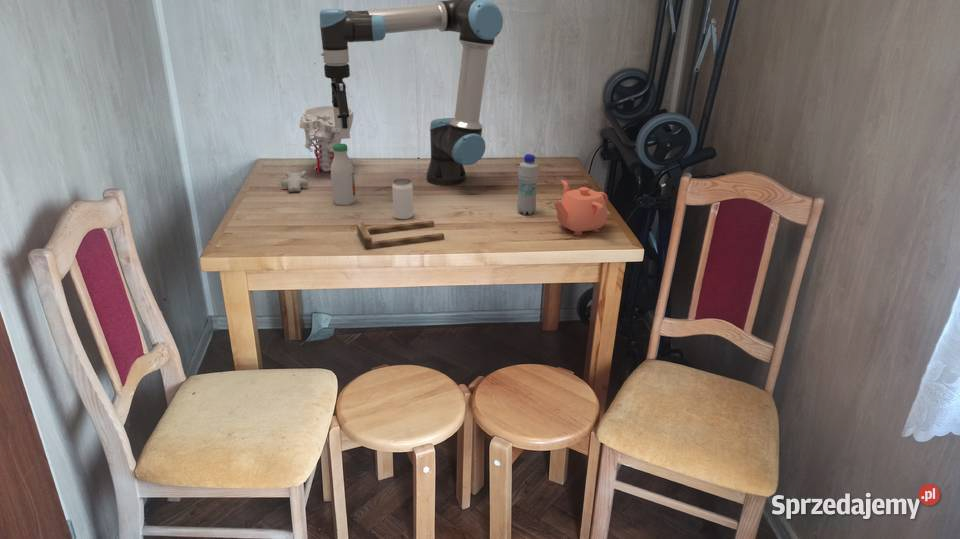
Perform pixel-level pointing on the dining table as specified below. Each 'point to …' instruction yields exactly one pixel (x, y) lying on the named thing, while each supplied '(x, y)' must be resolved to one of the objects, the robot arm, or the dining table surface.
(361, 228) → the guide
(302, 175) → the grey lumpy figure
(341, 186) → the milk bottle
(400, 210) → the can
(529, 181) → the bottle
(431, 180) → the robot arm
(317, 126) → the skull
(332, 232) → the dining table surface
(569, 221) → the orange rounded piece
